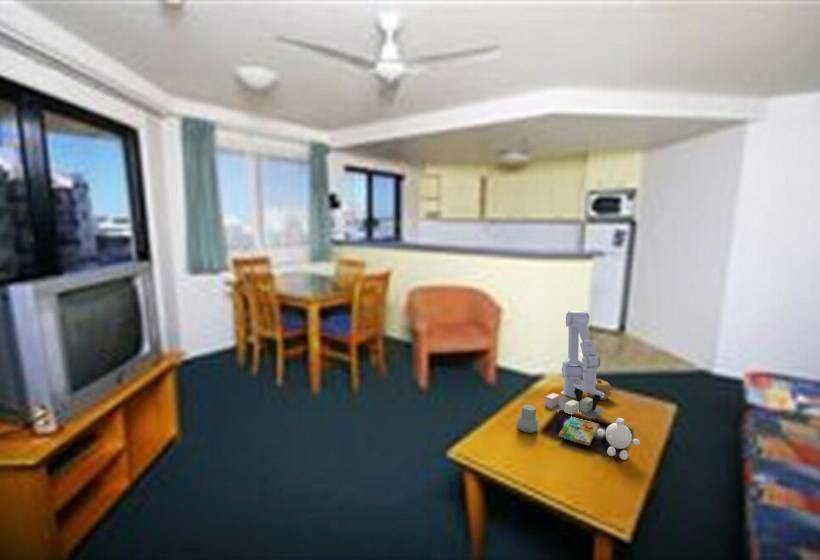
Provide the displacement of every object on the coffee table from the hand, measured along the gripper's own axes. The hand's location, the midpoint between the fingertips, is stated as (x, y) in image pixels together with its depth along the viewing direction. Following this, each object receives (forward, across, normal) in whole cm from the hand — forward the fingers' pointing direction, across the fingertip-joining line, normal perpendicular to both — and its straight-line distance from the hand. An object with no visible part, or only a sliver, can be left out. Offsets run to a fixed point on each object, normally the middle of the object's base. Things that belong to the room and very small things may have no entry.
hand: (586, 407), depth 205 cm
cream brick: (+1, -3, -9) cm, 10 cm away
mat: (+1, -4, -4) cm, 6 cm away
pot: (+2, -3, +19) cm, 19 cm away
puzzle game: (+2, +10, -28) cm, 30 cm away
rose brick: (+1, -13, -9) cm, 16 cm away
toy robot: (+2, +26, -30) cm, 40 cm away
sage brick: (+1, 0, 0) cm, 1 cm away
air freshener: (+2, -7, -40) cm, 41 cm away
